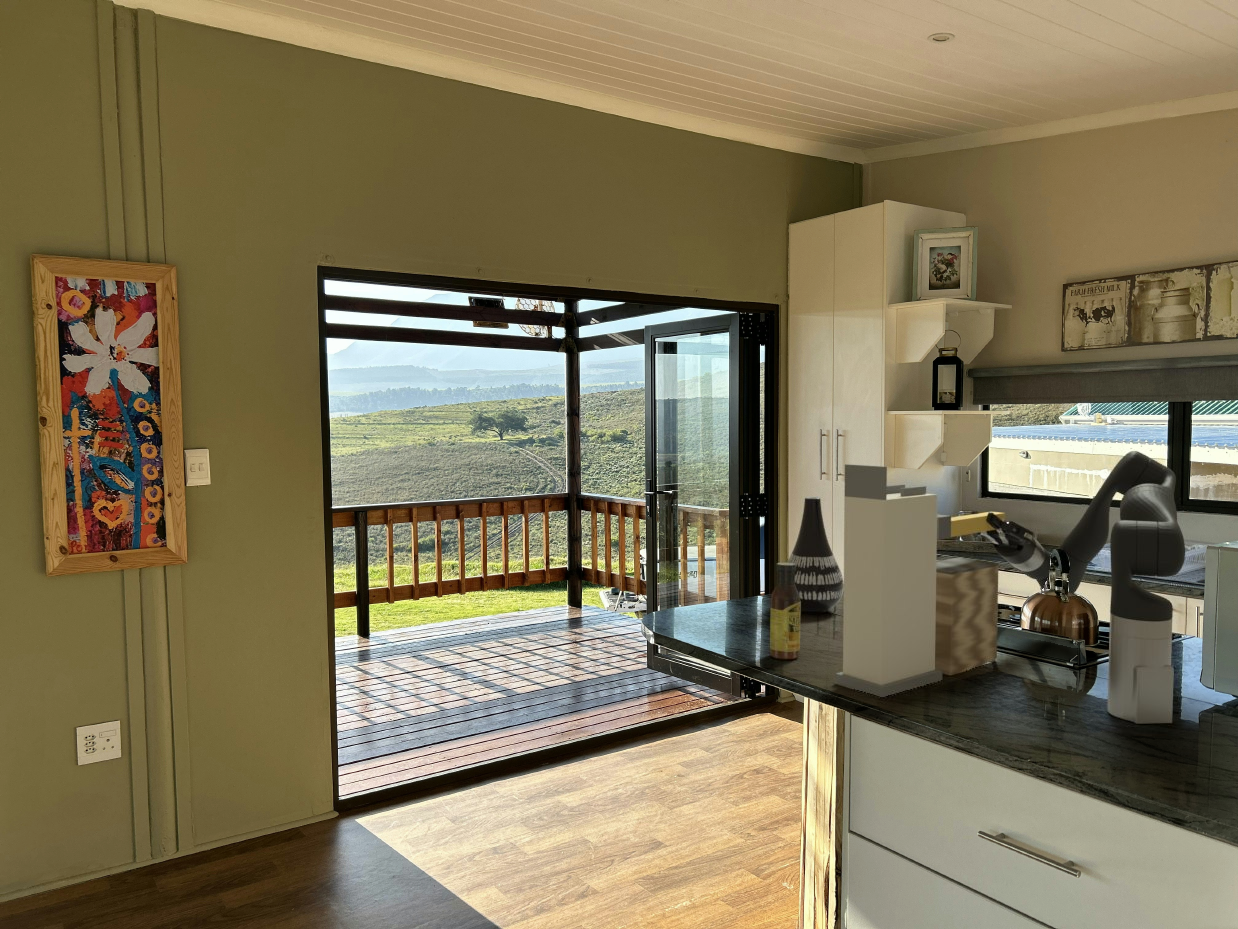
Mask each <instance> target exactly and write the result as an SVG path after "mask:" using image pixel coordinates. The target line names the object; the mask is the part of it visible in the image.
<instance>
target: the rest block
mask: <svg viewBox="0 0 1238 929" xmlns="http://www.w3.org/2000/svg"><path fill="white" fill-rule="evenodd" d="M999 564H1000V563H999V562H994V561H988V560H980V559H974V558H967V557H953V558H949V559H941V560H936V626H935V668H936V669H940V670H942V675H947V676H950V675H951V676H954V675H958V674H961V673H964V672H966V670H967V671H970V669H971V670H973V669H972V668H974V669H976V668H975V667H977V666H980V665H983V664H985V663H987V662H990V661H992V660H994V659H996V658H998V655H997V654H998V618H999V617H998V613H999V611H998V609H999V604H998V603H999Z"/></svg>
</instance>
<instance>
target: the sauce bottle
mask: <svg viewBox="0 0 1238 929" xmlns="http://www.w3.org/2000/svg"><path fill="white" fill-rule="evenodd" d="M775 565H776V573H777V574H776V577H777V578H776V586H775V588H774V589H773V590H772V592H771V597H770V598H771V600H770V601H771V605H770V616H769V618H770V620H769V621H770V622H769V625H770V626H769V627H770V628H769V630H770V631H769V634H770V635H769V636H770V637H769V648H770V655H771V657H772V658H774V659H779V660H794V659H797V658H799V655H800V650H801V612H800V610H801V601H800V598H799V595H798V592H797V589H796V586H795V571H796V564H794V563H787V562H777V563H776V564H775Z"/></svg>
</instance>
